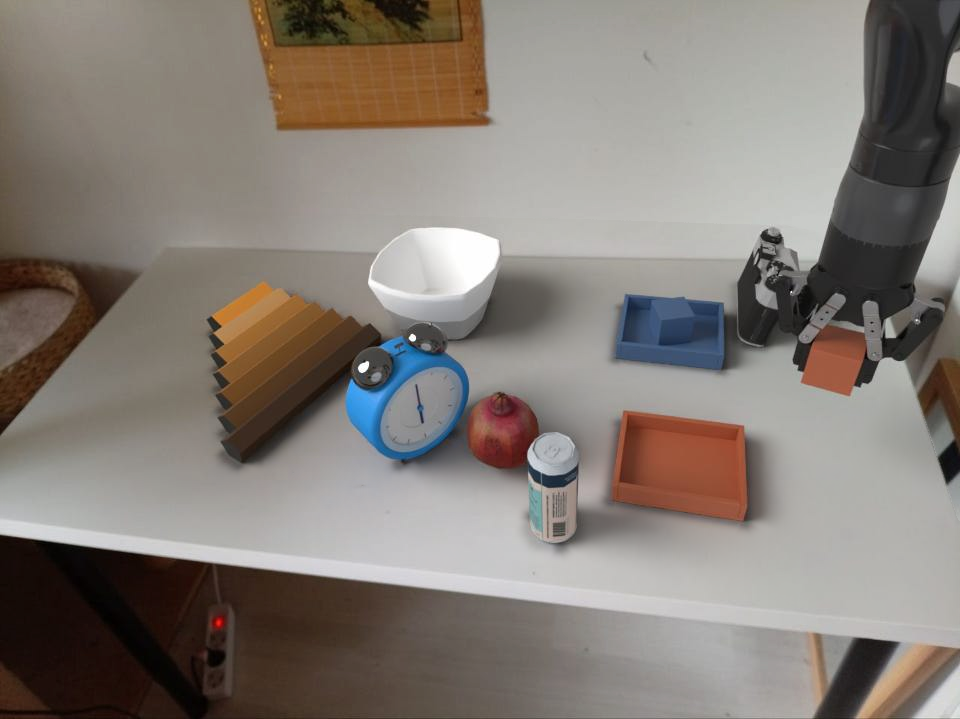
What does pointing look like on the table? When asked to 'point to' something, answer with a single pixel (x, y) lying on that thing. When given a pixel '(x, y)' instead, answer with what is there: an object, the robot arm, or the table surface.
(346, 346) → the pan flute
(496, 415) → the fruit
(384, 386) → the alarm clock
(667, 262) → the table surface
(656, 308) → the blue block
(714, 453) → the terracotta tray
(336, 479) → the table surface
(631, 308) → the blue tray
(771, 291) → the camera
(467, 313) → the bowl
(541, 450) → the beer can
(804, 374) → the terracotta block
